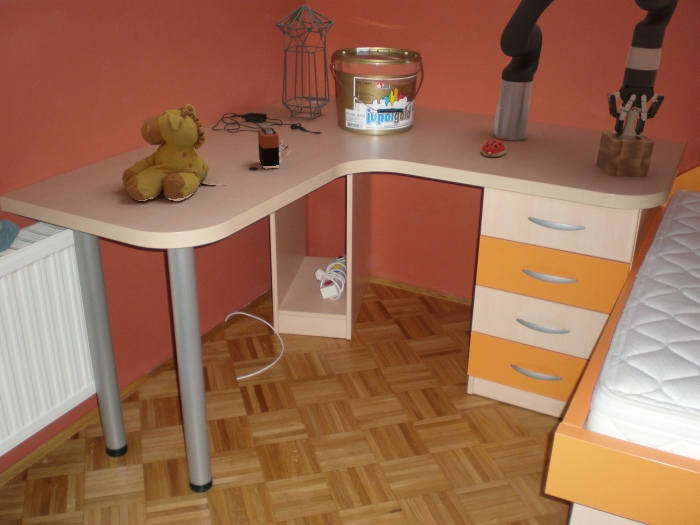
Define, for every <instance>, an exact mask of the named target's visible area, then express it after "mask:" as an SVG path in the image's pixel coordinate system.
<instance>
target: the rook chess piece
mask: <svg viewBox="0 0 700 525" xmlns="http://www.w3.org/2000/svg"><path fill="white" fill-rule="evenodd" d="M638 116H639V111H638V109H637V107H632V108H630V109H629V111H628V112H627V113H626V116H625V121H624V124H623V129H622V134H620V135H619V136H618V137H619V138H620V139H633V140H636V136H637V133H636V130H635V129H636V123H637V119H638Z"/></svg>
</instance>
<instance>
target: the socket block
mask: <svg viewBox="0 0 700 525" xmlns="http://www.w3.org/2000/svg"><path fill="white" fill-rule="evenodd" d="M619 135H620V134H617V133H616V131H615V130H613V131H612V130H602V132H601V136H600V141H599V142H600V143H599V147H598V152H597V157H596V158H597V159H596V162H595V164H596V163H597V164H596V165H597V166H598V167H599V168H600V169H601V170H602V172H603V173H605V174H606V175H607V176H619V177H621V176H622V177H647V176H648V173H649V172H648V171H649V168H650V163H651V159H652V154H653V150H654V146H655V141H653V140H652V139H650V138H649V137H648V136H646V135H645V134H644V133H643V132H642V133H641V134H640V135H637V136H636V140H633V139H620V138H619V137H618V136H619Z"/></svg>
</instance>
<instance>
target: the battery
mask: <svg viewBox="0 0 700 525" xmlns="http://www.w3.org/2000/svg"><path fill="white" fill-rule="evenodd" d="M279 136H280V135H279V134H278V132H277V131H276V130H275V128H274V127H272V126H271V125H269V124H268V125H263V126H262V128H258V129H257V139H258V160H260V162H261V164H262V165H263V166H276V165H280V140H279V139H280V137H279ZM260 162H259V163H260ZM261 164H260V165H261ZM262 165H261V166H262Z"/></svg>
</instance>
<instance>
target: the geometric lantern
mask: <svg viewBox="0 0 700 525" xmlns="http://www.w3.org/2000/svg"><path fill="white" fill-rule="evenodd" d="M304 11H305V12H306V15H307V17H308V19H309V21H307V20H303V19H302V18H303V15H304ZM318 16H320V17H322V18H323V19H325V20H327V21H322V19H320V17H318ZM286 19H287V20H286ZM312 19H313V20H312ZM285 20H286V21H285ZM283 21H285V22H284V23H282V22H283ZM295 21H297V27H293V25H294V23H295ZM306 24H308V25H310V26H307V25H306ZM314 24H315V25H316V26H315V25H314ZM334 25H335V22H334V21H333V20H331V19H330V18H328V17H326V16H325V15H323V14H322V13H319V12H318V11H317V10H315V9H313V8H311V7H310V6H308V5H307V4H303V5H302V4H301V5H300V6H298V8H296V9H294V10H292V11H291V12H290V13H288V14H287V15H286V16H284V17H282V18H281V19H280V20H278V21H277V22H275V23H274V24H273V26H275V27H277V29H279V30H280V31H281V32H282V38H283V41H282V42H283V43H282V44H283V51H284V53H283V54H284V56H283V73H282V95H281V104H282V105H283V106H284V107H285V108H286V109H287V110H289V111H290V118H294V119H295V118H297V119H309V120H310V119H311V120H314V119H316V118H318V117H319V116H321V115H322V108H324V107H325V106H326V105H327V104H329V103H330V101H331V98H330V96H331V94H330V85H329V84H330V83H329V82H330V81H329V74H328V73H329V71H328V70H329V69H328V60H327V47H326V46H327V34H328V33H329V32H330V30H331V29H332V27H333V26H334ZM300 26H302V27H300ZM285 28H286V30H285ZM313 29H317V31H315V30H313ZM292 30H294V31H295V32H296V35H293V32H291V31H292ZM299 30H305V31H304V32H302V33H301V34H299V33H298V31H299ZM323 30H325V31H324V32H325V33H324V34H323ZM310 33H314V34H318V35H319V36H320V38H319V41H318V43H317V45H316V46H313V45H305V42H306V41H307V38H308V37H309V35H310ZM285 34H286V35H287V36H288V37H289V38H290V41H289V43H288V46H287V47H286V38H285V37H286V35H285ZM305 34H306V36H305V37H304V39H303V40H302V38H301V37H302V36H304V35H305ZM296 38H297V39H299V41H300V43H301V45H299V42H297V39H296ZM293 39H294V41H295V43H296V44H297V45H295V44H294V45H293V46H290V45H291V43H292V41H293ZM323 39H324V40H323ZM321 41H322V43H323V46H319V45H320V43H321ZM292 48H295V50H290V49H292ZM298 48H301V50H298ZM308 48H313V49H314V51H309V49H308ZM304 49H305V51H304ZM317 49H318V50H317ZM321 51H323V70H324V71H323V74H324V98H323V97H319V96H318V95H319V92H318V91H319V90H318V80H317V79H318V75H317V63H316V62H317V60H316V53H318V52H321ZM287 52H292V53H295V72H294V74H295V75H294V97H292V98H289V99H288V97H287V96H288V94H287V93H288V91H287V89H288V88H287V87H288V86H287V84H288V83H287V81H288V80H287V72H288V71H287V63H288V62H287V59H288V58H287V57H288V56H287V55H288V54H287ZM298 53H300V55H301V60H300V61H301V64H300V65H301V96H297V81H298V80H297V77H298ZM304 54H307V63H308V64H307V65H308V66H307V70H308V73H307V74H308V96H304ZM310 54H313V68H314V83H315V96H316V97H313V96H312V94H311V62H310V61H311V60H310V58H311V57H310ZM297 99H300V105H299V103H298V100H297ZM303 99H307V100H308V101H309V102H308V105H303ZM292 100H294V101H295V103H296V104H289V103H288V102H291V101H292ZM312 100H316V106H312ZM319 100H321V101H322V102H321V103H320V104H319ZM325 101H326V102H325ZM291 107H292V109H291ZM293 107H294V108H293ZM296 109H297V110H296ZM299 109H300V110H299ZM302 109H308V110H309V111H303V110H302ZM312 109H314V110H313V112H312ZM299 113H300V114H309V115H310V117H309V116H308V117H306V116H297V115H298V114H299ZM312 114H313V115H312ZM295 115H296V116H295Z"/></svg>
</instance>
